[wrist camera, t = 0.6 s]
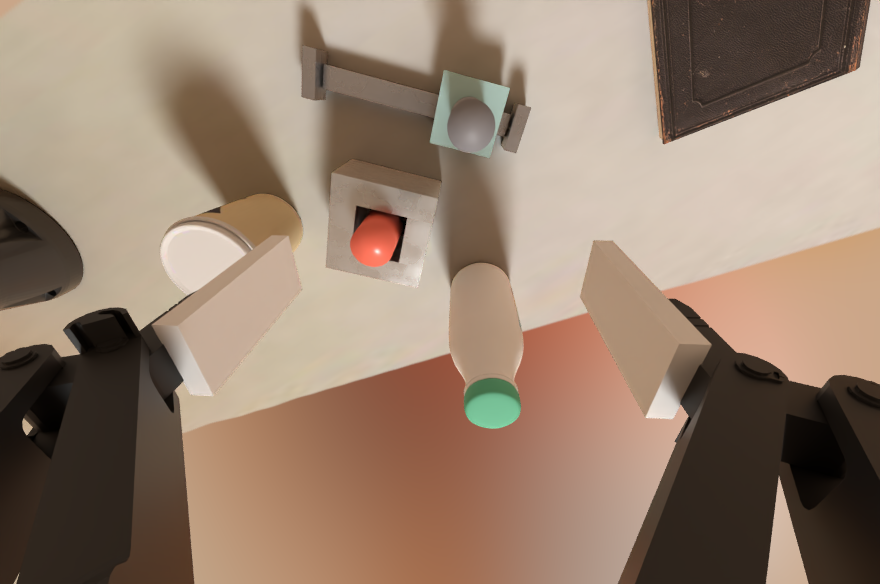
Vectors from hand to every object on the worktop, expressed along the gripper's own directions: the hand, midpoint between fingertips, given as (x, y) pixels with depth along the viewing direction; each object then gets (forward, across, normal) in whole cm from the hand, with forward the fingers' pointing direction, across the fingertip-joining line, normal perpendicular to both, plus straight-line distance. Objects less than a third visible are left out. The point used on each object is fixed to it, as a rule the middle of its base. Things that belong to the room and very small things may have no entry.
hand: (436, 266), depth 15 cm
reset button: (+21, -7, -6) cm, 23 cm away
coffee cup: (+25, -22, -7) cm, 34 cm away
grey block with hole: (+25, -8, -6) cm, 27 cm away
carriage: (+25, +1, +4) cm, 25 cm away
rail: (+25, -4, +6) cm, 26 cm away
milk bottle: (+25, +4, -16) cm, 30 cm away
